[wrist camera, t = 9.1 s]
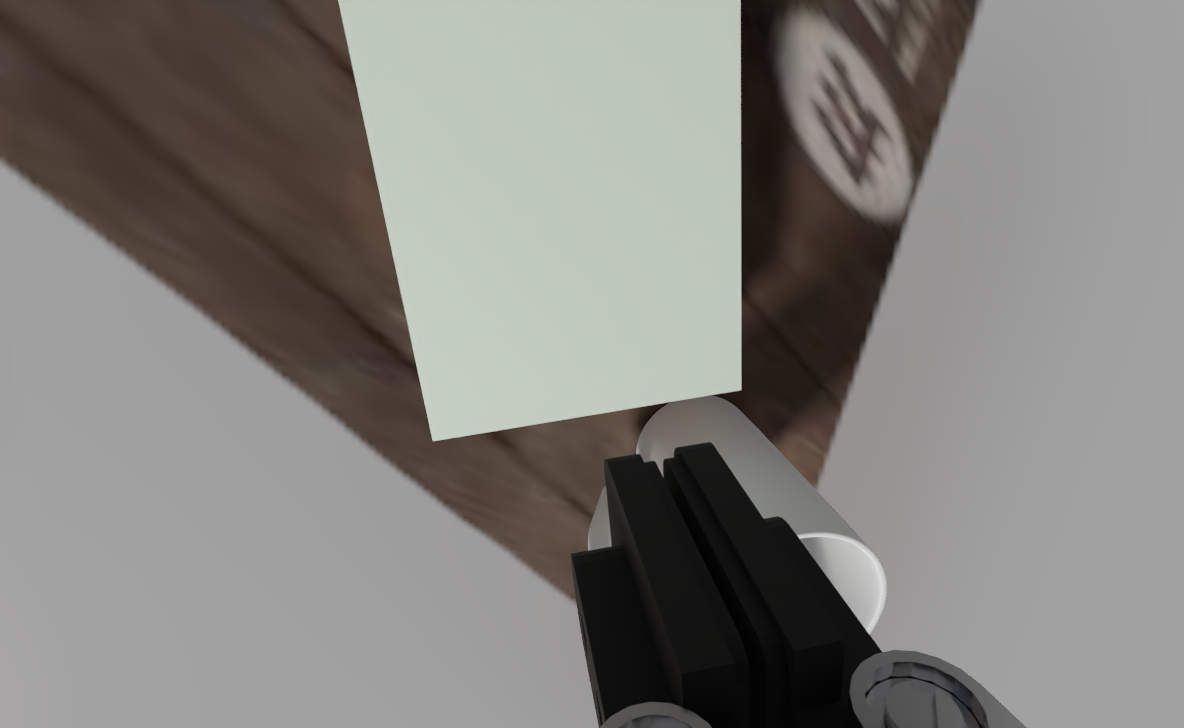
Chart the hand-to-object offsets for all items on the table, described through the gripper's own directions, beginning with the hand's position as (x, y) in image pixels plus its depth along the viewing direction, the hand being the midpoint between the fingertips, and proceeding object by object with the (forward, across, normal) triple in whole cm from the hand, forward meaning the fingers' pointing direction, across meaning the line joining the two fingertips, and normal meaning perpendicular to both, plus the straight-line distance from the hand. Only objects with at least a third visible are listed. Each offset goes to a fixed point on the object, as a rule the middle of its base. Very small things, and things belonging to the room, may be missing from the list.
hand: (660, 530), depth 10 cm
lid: (+15, -1, -4) cm, 16 cm away
